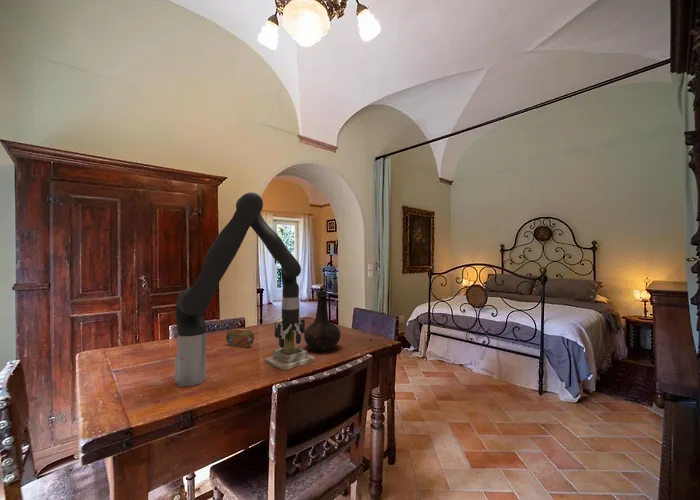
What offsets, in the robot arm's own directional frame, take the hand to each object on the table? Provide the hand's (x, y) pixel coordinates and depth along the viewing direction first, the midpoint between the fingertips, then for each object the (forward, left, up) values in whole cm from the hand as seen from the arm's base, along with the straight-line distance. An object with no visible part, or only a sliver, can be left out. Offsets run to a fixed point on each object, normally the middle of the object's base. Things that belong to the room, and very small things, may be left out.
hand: (290, 345), depth 131 cm
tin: (-4, +36, -7) cm, 37 cm away
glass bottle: (+22, +4, -7) cm, 23 cm away
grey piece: (0, 0, -7) cm, 7 cm away
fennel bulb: (0, 0, -6) cm, 6 cm away
